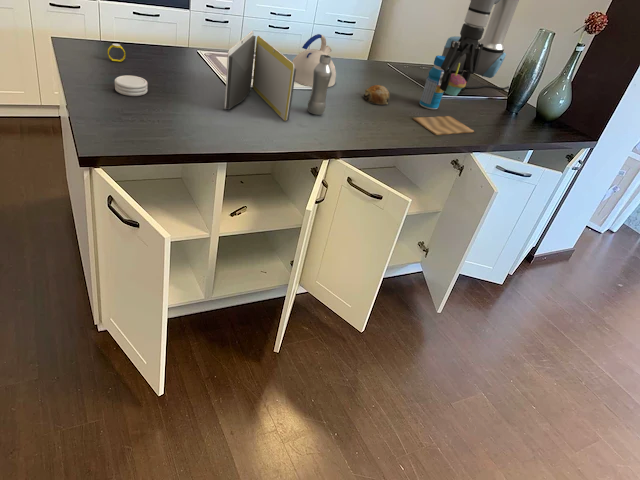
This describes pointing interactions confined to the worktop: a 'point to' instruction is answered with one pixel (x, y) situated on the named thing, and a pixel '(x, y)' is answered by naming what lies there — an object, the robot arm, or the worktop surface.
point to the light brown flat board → (443, 125)
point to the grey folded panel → (259, 75)
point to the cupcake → (455, 83)
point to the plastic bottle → (320, 86)
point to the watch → (116, 47)
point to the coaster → (131, 85)
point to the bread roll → (377, 95)
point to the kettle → (311, 62)
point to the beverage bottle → (433, 86)
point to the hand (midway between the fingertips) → (451, 89)
